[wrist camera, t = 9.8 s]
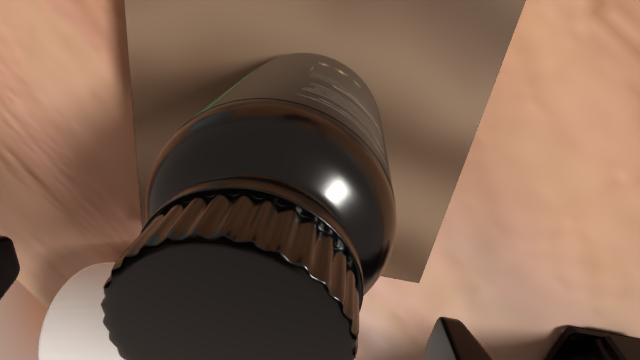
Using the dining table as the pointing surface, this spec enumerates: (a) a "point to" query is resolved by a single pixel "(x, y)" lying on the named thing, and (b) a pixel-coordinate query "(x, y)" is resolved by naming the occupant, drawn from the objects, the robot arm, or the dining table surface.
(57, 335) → the mug
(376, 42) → the walnut board
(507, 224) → the dining table surface
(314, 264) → the supplement bottle
